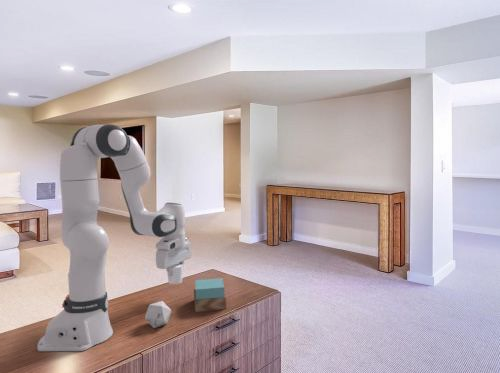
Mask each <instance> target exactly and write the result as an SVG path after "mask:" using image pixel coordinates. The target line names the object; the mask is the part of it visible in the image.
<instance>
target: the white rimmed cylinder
mask: <svg viewBox="0 0 500 373" xmlns="http://www.w3.org/2000/svg"><path fill="white" fill-rule="evenodd" d="M171 270H172V276H171V277H170V276H168V272H167V271H166V273H167V282H168V284H170V285H178V284H181V283H183V274H184V264H183V265H182V264H179V263H177V264H175V265H172V268H171Z"/></svg>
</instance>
